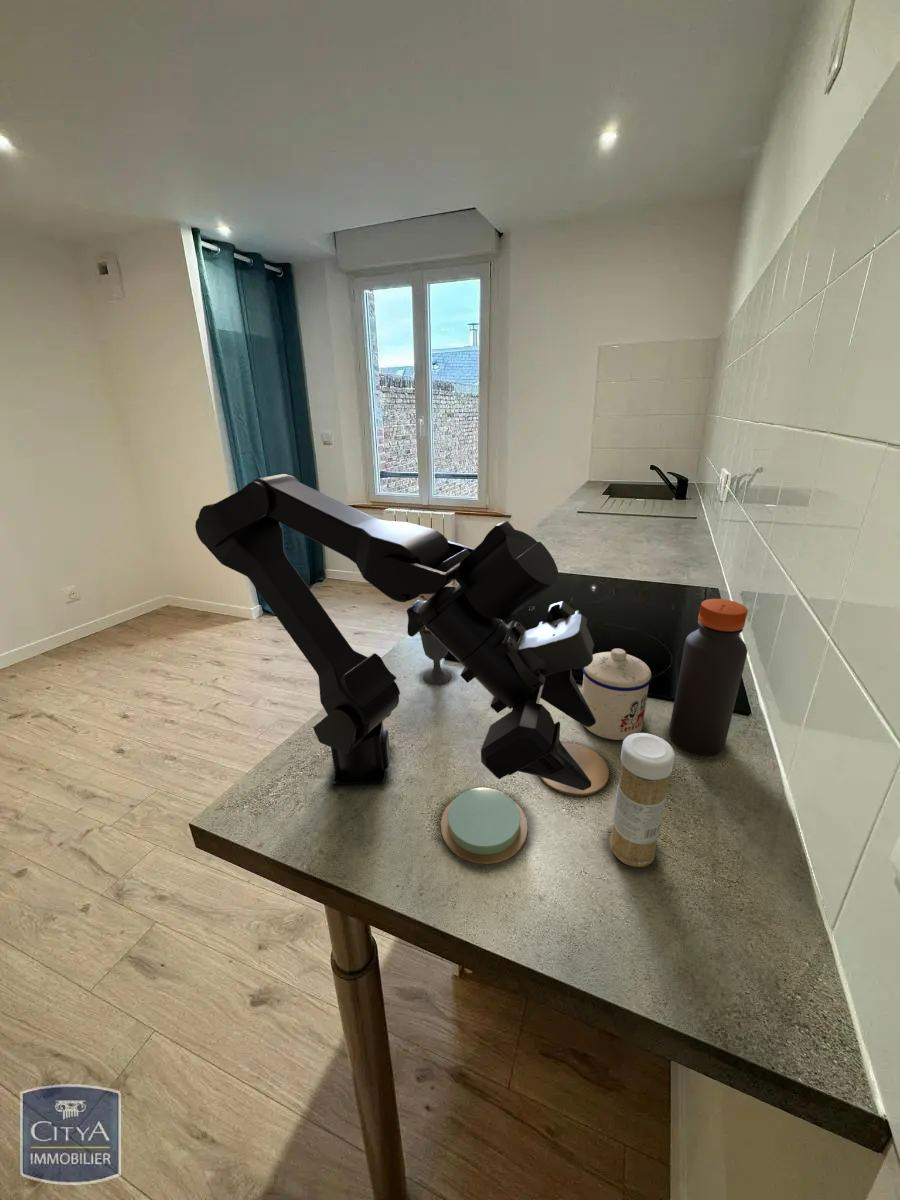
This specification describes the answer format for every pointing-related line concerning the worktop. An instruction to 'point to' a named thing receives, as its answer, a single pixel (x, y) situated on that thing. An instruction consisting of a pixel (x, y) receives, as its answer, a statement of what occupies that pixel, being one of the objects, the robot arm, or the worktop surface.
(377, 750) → the robot arm
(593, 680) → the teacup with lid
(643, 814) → the sprinkles bottle
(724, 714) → the vinegar
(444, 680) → the sundae
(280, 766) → the worktop surface
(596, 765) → the coaster
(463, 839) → the green flat disc
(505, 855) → the saucer coaster
